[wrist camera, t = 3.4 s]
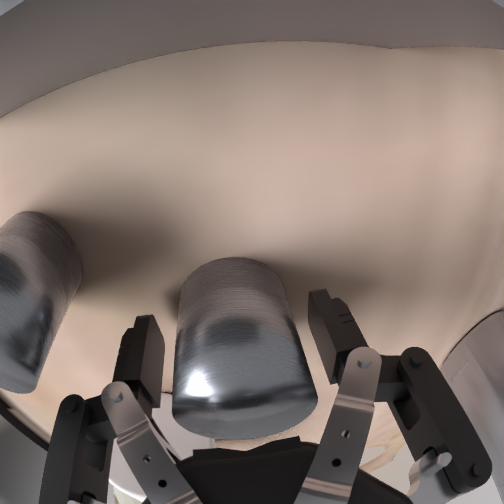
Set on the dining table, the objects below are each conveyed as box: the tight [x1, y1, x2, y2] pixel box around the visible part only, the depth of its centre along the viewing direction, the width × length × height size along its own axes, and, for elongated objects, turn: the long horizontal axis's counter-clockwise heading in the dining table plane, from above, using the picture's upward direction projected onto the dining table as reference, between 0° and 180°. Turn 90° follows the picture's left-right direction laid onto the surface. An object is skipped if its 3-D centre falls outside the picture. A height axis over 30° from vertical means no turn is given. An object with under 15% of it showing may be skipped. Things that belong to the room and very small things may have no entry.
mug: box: [109, 393, 217, 502], centre depth 17 cm, size 12×10×8 cm
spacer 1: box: [0, 212, 82, 394], centre depth 9 cm, size 5×5×6 cm
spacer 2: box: [172, 257, 318, 440], centre depth 11 cm, size 5×5×6 cm
